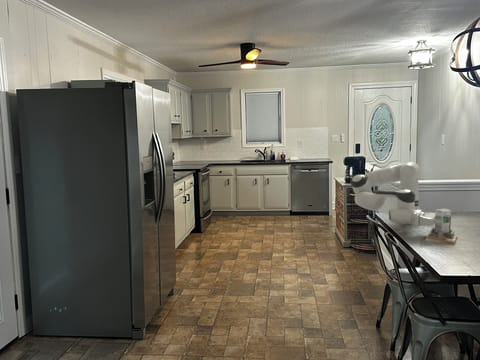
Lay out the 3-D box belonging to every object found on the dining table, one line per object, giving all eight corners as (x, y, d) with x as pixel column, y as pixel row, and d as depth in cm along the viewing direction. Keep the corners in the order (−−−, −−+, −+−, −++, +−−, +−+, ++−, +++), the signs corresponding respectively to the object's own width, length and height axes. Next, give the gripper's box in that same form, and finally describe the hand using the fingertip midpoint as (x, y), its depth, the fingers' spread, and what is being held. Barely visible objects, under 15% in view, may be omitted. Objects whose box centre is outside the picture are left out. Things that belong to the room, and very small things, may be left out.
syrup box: (441, 236, 232) (442, 210, 230) (434, 233, 238) (435, 208, 236) (450, 235, 234) (451, 210, 232) (442, 233, 240) (443, 208, 238)
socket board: (429, 234, 244) (430, 224, 243) (456, 237, 237) (457, 227, 236) (425, 241, 229) (425, 231, 228) (454, 244, 222) (454, 234, 221)
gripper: (420, 219, 250) (446, 221, 243) (415, 226, 233) (442, 229, 226) (420, 209, 250) (446, 211, 243) (415, 215, 232) (443, 217, 225)
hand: (444, 219), depth 234 cm, fingers open, 8 cm apart
